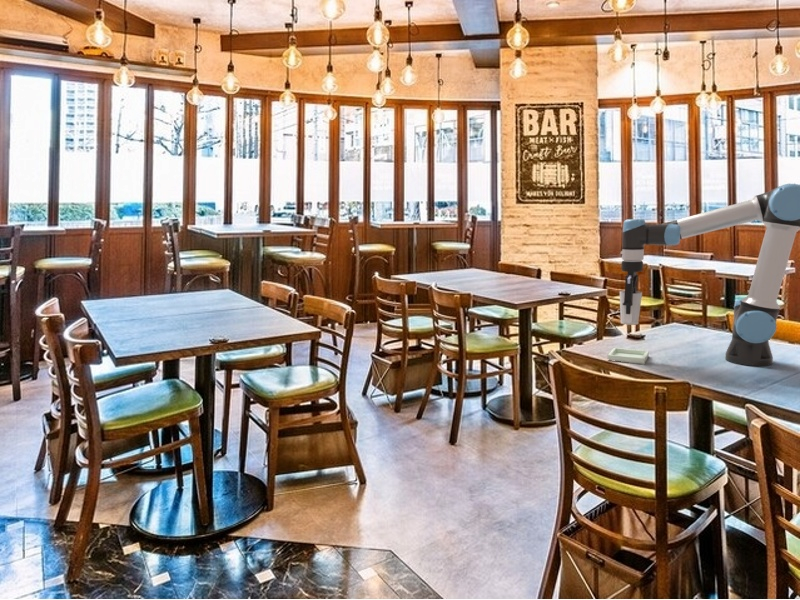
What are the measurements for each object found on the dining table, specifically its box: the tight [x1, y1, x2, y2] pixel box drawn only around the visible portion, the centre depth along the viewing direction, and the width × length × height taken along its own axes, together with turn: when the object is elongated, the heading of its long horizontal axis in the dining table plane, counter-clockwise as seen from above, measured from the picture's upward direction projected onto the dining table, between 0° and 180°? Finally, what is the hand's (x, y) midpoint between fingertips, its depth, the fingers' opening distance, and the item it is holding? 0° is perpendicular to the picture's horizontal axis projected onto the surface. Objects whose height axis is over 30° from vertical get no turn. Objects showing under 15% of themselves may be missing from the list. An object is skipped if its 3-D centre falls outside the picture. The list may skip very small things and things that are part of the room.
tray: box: [607, 347, 650, 365], centre depth 222 cm, size 13×13×2 cm
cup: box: [619, 290, 643, 326], centre depth 219 cm, size 8×8×12 cm
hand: (629, 320), depth 219 cm, fingers closed on cup, 7 cm apart
